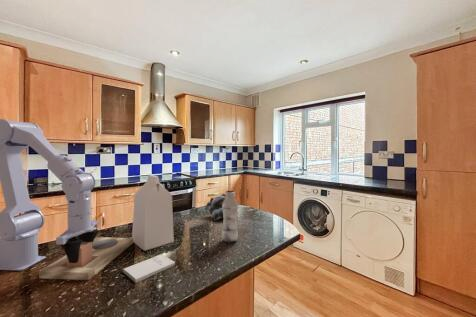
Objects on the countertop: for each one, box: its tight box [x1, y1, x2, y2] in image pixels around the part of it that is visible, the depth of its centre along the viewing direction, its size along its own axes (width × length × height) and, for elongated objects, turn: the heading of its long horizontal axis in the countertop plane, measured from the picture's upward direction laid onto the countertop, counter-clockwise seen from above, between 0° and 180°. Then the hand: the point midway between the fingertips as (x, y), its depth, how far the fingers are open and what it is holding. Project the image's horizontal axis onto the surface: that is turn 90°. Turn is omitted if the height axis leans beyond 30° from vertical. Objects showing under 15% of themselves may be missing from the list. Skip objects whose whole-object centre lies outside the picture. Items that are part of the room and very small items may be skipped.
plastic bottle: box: [221, 190, 239, 243], centre depth 88 cm, size 6×7×20 cm
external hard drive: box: [122, 254, 176, 284], centre depth 67 cm, size 2×8×12 cm
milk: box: [131, 174, 175, 251], centre depth 86 cm, size 12×12×26 cm
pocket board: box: [38, 236, 134, 281], centre depth 73 cm, size 14×24×2 cm, turn 178°
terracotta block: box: [67, 242, 92, 268], centre depth 67 cm, size 4×4×7 cm
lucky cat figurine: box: [206, 193, 226, 221], centre depth 119 cm, size 15×12×14 cm
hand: (79, 258), depth 67 cm, fingers closed on terracotta block, 4 cm apart
